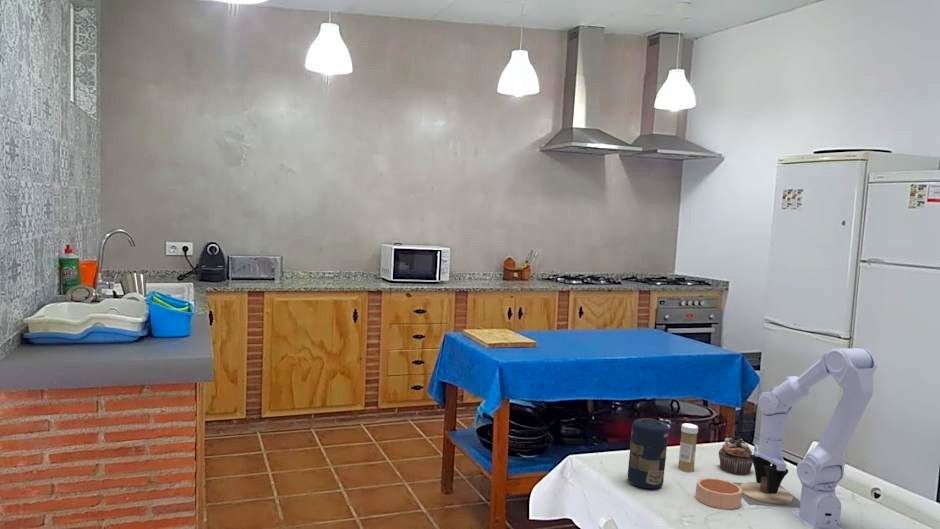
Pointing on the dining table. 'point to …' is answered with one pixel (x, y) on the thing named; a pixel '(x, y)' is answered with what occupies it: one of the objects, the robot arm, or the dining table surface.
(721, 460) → the cupcake
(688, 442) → the sprinkles bottle
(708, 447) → the dining table surface
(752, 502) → the mat
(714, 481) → the bowl
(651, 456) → the navy canister
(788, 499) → the lid
